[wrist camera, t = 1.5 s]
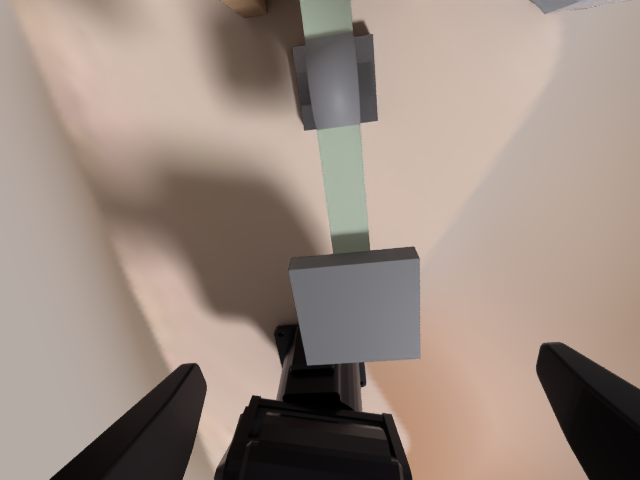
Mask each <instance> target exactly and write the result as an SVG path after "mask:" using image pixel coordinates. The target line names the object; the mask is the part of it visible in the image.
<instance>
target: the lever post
mask: <svg viewBox="0 0 640 480" xmlns="http://www.w3.org/2000/svg"><path fill="white" fill-rule="evenodd" d="M354 42H355V50H356V60H357V71H358V84H359V99H360V123H364V122H372V121H378V117H377V99H376V81H375V64H374V46H373V34H370V35H364V36H358V37H354ZM292 50H293V57H294V63H295V70H296V77H297V84H298V91H299V97H300V104H301V111H302V118H303V124H304V131H305V130H313V129H316V125H315V121H314V116H313V110H312V104H311V98H310V91H309V83H308V75H307V66H306V55H305V45H303V46H297V47H292Z"/></svg>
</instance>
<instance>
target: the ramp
mask: <svg viewBox="0 0 640 480" xmlns="http://www.w3.org/2000/svg"><path fill="white" fill-rule="evenodd" d="M220 1H221V2H223V3H224V4H226V5H227V6H228V7H230V8H231V9H233V10H234V11H235V12H237V13H238V14H239V15H241V16H242V17H244V18H246V17H252V16H257V15H263V14H267V11H266V5H265V0H220Z"/></svg>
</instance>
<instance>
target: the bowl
mask: <svg viewBox="0 0 640 480" xmlns="http://www.w3.org/2000/svg"><path fill="white" fill-rule="evenodd" d="M530 1H532V2H534V3H535V4H536V5H537V6H538V7H539V8H540V10H541V11H542V12H543V13H544V14H548V13H554V12H560V11H566V10H577V9H587V8H591V7H595V6H600V5H604V4H609V3H616V2H622V1H628V0H530Z"/></svg>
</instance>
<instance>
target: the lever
mask: <svg viewBox="0 0 640 480" xmlns="http://www.w3.org/2000/svg"><path fill="white" fill-rule="evenodd" d="M300 6H301V14H302V21H303V29H304V36H305V55H306V66H307V75H308V83H309V91H310V98H311V104H312V110H313V116H314V121H315V125H316V129H317V135H318V142H319V150H320V157H321V165H322V172H323V180H324V188H325V195H326V203H327V210H328V218H329V225H330V233H331V241H332V248H333V254H329V255H319V256H308V257H297V258H291V262H290V265H289V269H288V273H289V278H290V282H291V287H292V292H293V297H294V302H295V307H296V312H297V317H298V322H299V327H300V332H301V337H302V342H303V346H304V351H305V356H306V361H307V365H323V364H340V363H357V362H373V361H390V360H408V359H420V258H419V256H418V254H417V252H416V250H415V247H404V248H393V249H382V250H372V251H370V243H369V231H368V218H367V205H366V192H365V179H364V167H363V154H362V141H361V128H360V99H359V84H358V71H357V60H356V50H355V42H354V35H353V26H352V13H351V0H300Z"/></svg>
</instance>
